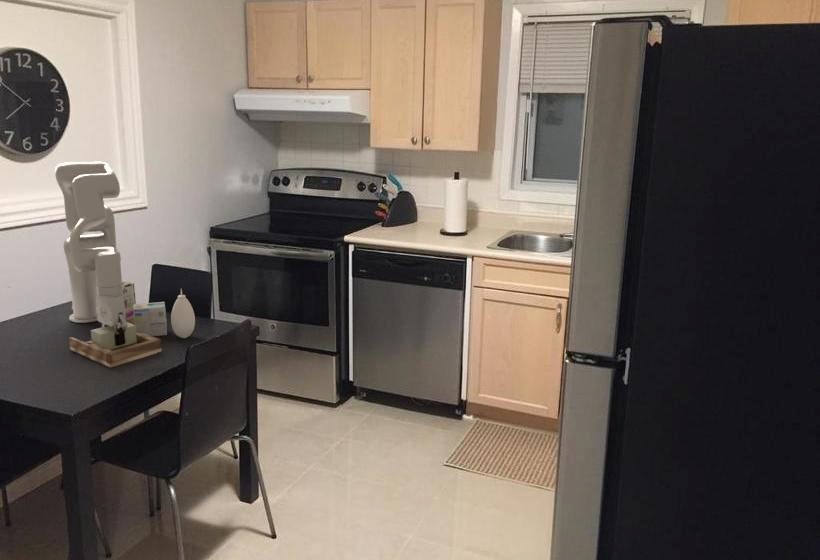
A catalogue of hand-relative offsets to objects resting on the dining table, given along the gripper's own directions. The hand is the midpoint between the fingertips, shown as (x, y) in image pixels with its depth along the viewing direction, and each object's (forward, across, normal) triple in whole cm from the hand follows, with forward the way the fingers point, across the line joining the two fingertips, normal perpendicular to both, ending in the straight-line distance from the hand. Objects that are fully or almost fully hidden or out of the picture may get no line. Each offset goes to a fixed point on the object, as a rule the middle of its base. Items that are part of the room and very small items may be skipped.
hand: (114, 341), depth 216 cm
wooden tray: (+3, 0, 0) cm, 3 cm away
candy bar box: (+3, -18, +13) cm, 22 cm away
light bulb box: (+3, -6, +17) cm, 18 cm away
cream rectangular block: (+1, 0, 0) cm, 1 cm away
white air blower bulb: (+3, +6, +22) cm, 23 cm away
